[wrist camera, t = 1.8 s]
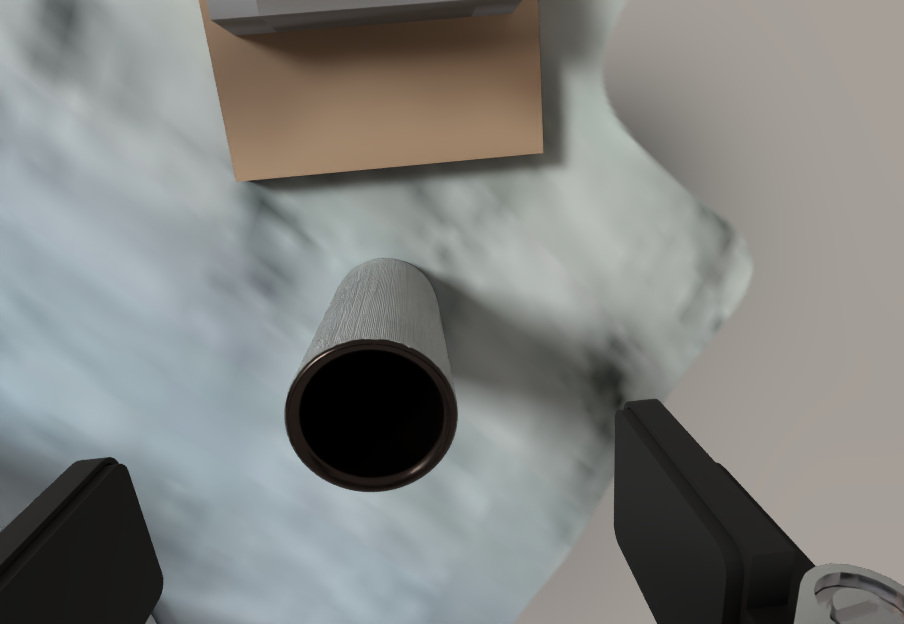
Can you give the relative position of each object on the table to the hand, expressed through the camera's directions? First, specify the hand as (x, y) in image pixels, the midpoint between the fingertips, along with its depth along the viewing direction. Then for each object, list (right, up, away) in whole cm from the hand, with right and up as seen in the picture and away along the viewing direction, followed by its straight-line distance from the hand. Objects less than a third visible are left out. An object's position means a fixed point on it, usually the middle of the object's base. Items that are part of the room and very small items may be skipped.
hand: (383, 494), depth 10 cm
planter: (-2, +4, +14) cm, 14 cm away
